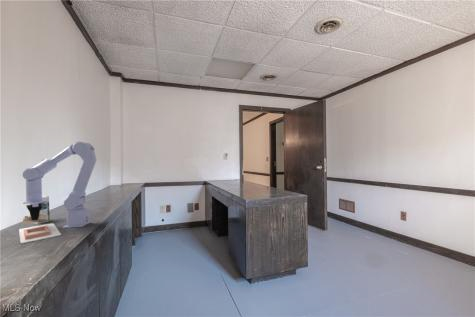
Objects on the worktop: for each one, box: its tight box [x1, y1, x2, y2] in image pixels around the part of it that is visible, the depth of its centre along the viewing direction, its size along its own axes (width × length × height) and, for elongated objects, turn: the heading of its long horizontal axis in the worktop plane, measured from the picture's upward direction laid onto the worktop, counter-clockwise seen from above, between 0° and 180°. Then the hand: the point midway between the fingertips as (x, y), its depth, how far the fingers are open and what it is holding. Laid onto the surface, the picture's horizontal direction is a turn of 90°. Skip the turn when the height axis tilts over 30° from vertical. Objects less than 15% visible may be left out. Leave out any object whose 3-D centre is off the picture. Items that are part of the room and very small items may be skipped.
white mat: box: [18, 222, 62, 245], centre depth 101 cm, size 13×26×1 cm, turn 47°
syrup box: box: [33, 195, 51, 225], centre depth 117 cm, size 6×6×14 cm
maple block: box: [22, 213, 46, 225], centre depth 106 cm, size 8×4×3 cm, turn 137°
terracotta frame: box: [24, 226, 50, 240], centre depth 98 cm, size 12×8×2 cm, turn 47°
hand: (34, 219), depth 106 cm, fingers closed on maple block, 4 cm apart
